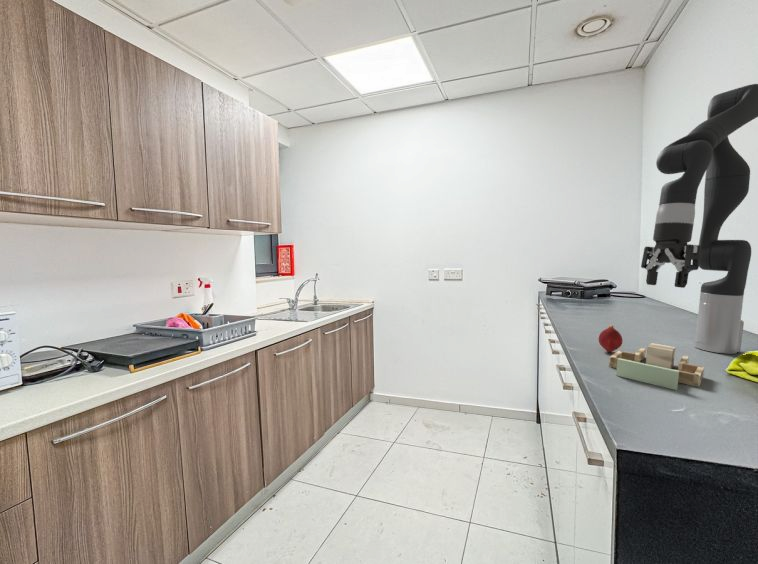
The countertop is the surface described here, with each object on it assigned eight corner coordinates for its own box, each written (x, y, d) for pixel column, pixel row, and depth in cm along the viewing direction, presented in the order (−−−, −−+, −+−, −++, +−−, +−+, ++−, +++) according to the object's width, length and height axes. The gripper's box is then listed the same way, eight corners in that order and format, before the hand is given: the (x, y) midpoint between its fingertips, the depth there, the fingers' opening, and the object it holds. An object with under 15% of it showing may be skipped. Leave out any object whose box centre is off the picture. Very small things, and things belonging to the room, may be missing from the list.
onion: (625, 355, 97) (627, 328, 97) (602, 354, 98) (605, 326, 98) (615, 350, 103) (617, 323, 102) (594, 348, 104) (596, 322, 103)
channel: (625, 353, 99) (626, 345, 99) (706, 369, 87) (707, 359, 87) (602, 371, 85) (603, 361, 84) (696, 393, 72) (697, 381, 72)
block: (649, 361, 93) (651, 343, 93) (673, 365, 90) (675, 347, 89) (645, 365, 90) (647, 346, 90) (670, 370, 86) (672, 350, 86)
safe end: (617, 374, 82) (618, 358, 82) (677, 388, 74) (679, 370, 74) (616, 375, 82) (617, 359, 81) (676, 389, 74) (678, 371, 73)
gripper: (716, 221, 81) (705, 289, 82) (664, 227, 95) (655, 285, 96) (685, 218, 81) (675, 287, 82) (638, 224, 95) (629, 282, 96)
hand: (664, 286), depth 89 cm, fingers open, 8 cm apart
